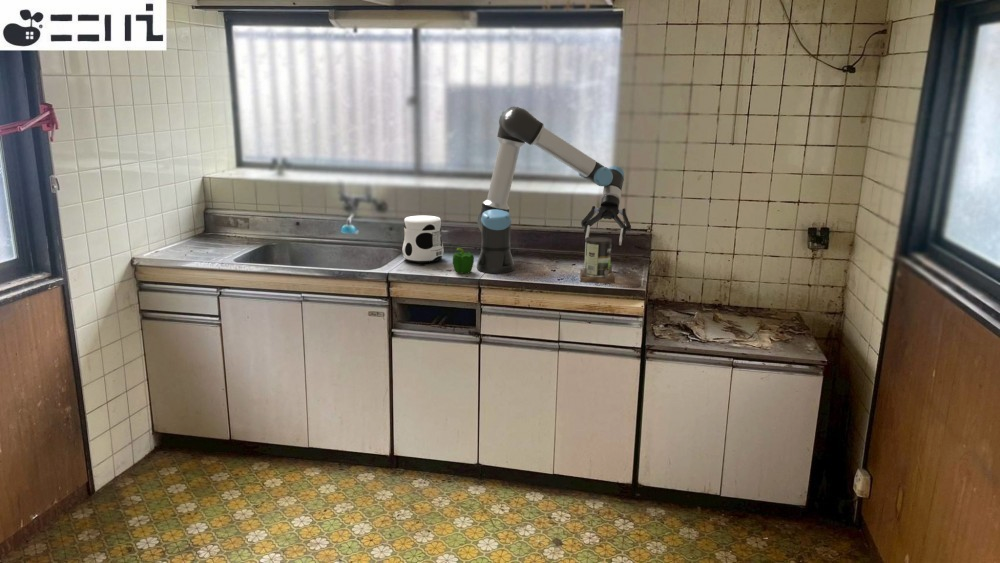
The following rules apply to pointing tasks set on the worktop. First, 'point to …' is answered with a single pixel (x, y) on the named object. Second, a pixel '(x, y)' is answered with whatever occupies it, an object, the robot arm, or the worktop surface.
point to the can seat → (605, 279)
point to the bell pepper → (463, 261)
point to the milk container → (422, 239)
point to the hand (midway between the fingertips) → (603, 242)
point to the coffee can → (597, 256)
